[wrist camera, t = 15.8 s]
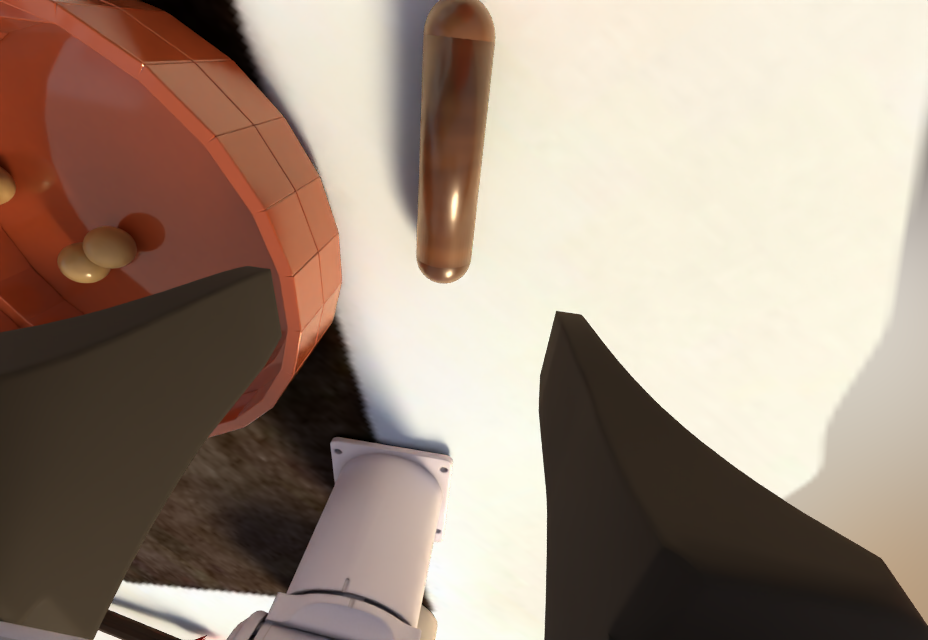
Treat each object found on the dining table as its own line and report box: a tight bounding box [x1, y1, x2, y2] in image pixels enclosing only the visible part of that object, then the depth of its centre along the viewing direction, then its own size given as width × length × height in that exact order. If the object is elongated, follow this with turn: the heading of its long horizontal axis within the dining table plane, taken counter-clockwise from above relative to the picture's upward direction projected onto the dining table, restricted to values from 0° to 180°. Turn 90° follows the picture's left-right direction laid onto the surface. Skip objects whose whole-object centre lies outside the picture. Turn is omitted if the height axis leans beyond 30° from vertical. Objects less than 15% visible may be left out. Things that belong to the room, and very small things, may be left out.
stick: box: [416, 0, 495, 283], centre depth 17 cm, size 10×2×2 cm, turn 175°
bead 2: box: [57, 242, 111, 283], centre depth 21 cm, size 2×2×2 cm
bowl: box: [0, 0, 342, 438], centre depth 19 cm, size 19×19×5 cm
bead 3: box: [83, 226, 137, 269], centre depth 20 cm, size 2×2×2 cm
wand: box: [98, 610, 207, 640], centre depth 48 cm, size 4×4×30 cm
